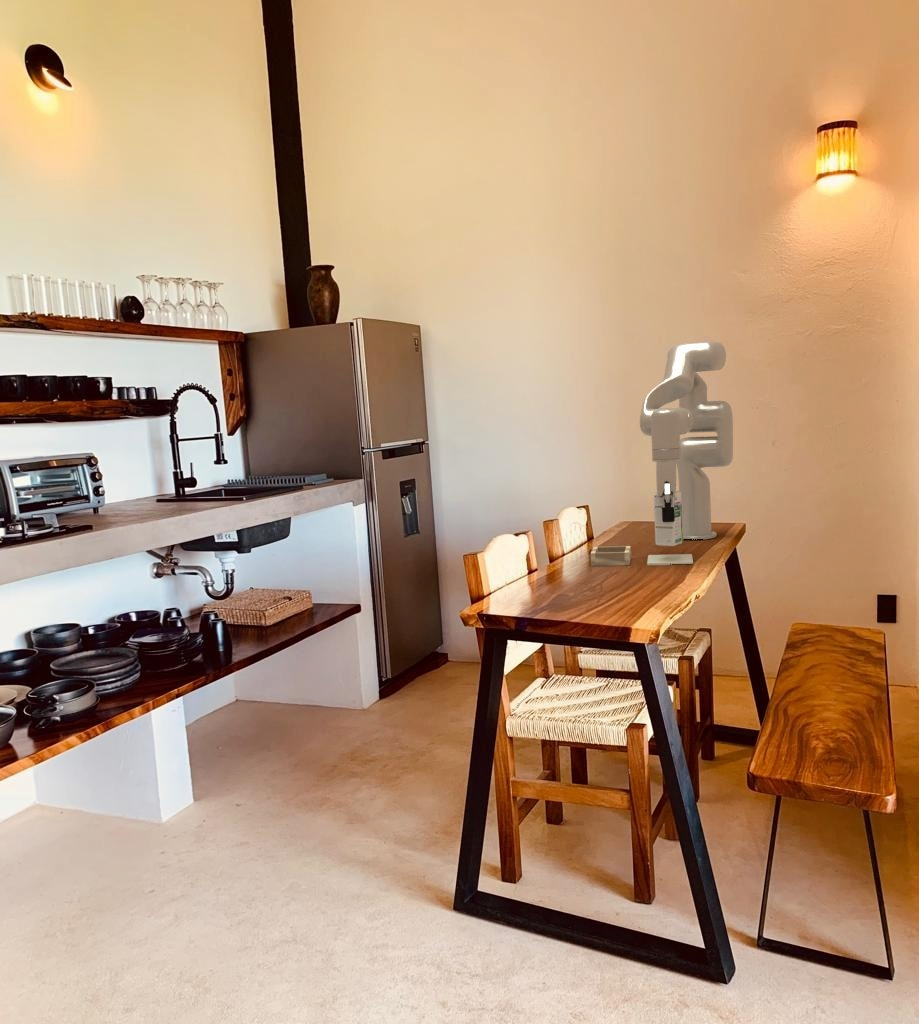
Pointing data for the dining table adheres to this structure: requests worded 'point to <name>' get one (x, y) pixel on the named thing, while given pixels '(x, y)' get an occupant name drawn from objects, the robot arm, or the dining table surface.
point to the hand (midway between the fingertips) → (668, 519)
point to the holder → (610, 555)
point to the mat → (670, 559)
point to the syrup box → (668, 530)
